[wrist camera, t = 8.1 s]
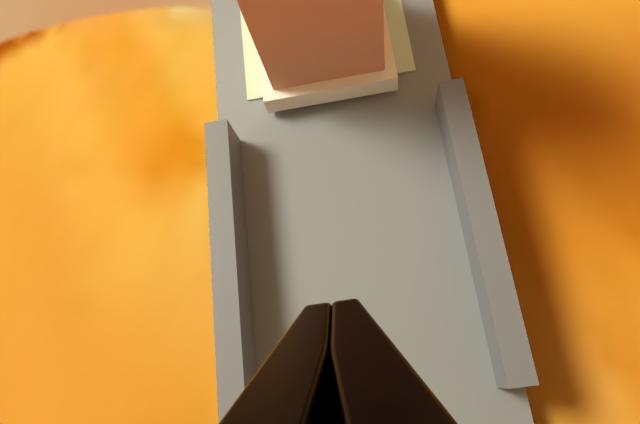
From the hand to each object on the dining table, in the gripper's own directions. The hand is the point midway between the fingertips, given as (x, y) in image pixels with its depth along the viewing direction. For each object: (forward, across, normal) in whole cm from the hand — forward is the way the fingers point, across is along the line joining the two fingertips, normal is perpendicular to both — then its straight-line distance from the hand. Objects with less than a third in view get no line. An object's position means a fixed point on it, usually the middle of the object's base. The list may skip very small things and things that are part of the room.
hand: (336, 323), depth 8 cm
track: (+12, 0, +6) cm, 14 cm away
